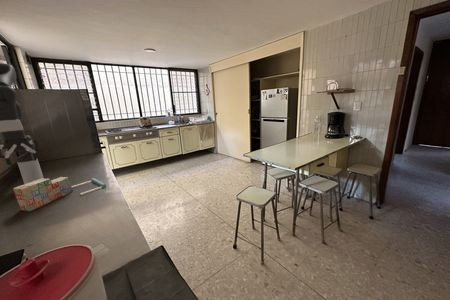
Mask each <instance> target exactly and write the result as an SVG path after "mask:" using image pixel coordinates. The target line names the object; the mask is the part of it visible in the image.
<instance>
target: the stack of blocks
mask: <svg viewBox="0 0 450 300" xmlns="http://www.w3.org/2000/svg"><path fill="white" fill-rule="evenodd" d="M71 186H72V183H71V181H70V177H68V176H66V177H65V176H64V177H63V176H59V177H56V178H53V179H51V178H44V177H43V178H41V179H38V180H36V181H33V182H30V183H27V184H22V185H18V186H16V187H13V188H12V190H13V191H14V195H15V198H16V199H15V200H17V203H18V205H19V208H20V211H26V212H31V211H34V210H36V209H38V208H40V207H42V206H45V205H46V204H48V203H49V204H50V203H51V202H53V201H55V200H57V199H59V198H61V197H64V196H66V195H68V194H71V193H72V192H74V191H73V188H72V187H71Z"/></svg>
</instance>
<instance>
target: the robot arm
mask: <svg viewBox="0 0 450 300" xmlns="http://www.w3.org/2000/svg"><path fill="white" fill-rule="evenodd" d="M16 81H17V72H16V69H15V67H14V66H13V65H11V64H8V63H3V62H0V136H1V140H2V142H3V144H0V159H3V160H4V162H5V165H6V166H8V167H12V166H13V163H12V160H11V158H10V156H11V155H12V153H15V152H22V151H26V152H25V153H23V154H21V155H20V156H17V157H16V162H17V163H16V164H17V165H18V169H19V171H20V175H21V177H22V180H23V183H24V184H27V183H30V182H33V181H36V180H38V179H41V178H44V175H43V172H42V171H43V170H42V169H41V166H40V163H39V159H38V155H37V152H41V149H40V146H39V143H38V141H37V139H33V138H32V137H31V135H28V134H26V133H25V129H24V127H23V123H22V122H21V120H22V118H23V111H22V107H21V104H20V103H19V102H18V101H17V97H18V94H17V91H16V90H15V89H14V88H13V87H12V85H13V84H15V82H16ZM3 148H4V149H6V151H5V152H4V154H2V150H3ZM24 184H23V185H24Z"/></svg>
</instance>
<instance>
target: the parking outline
mask: <svg viewBox="0 0 450 300" xmlns="http://www.w3.org/2000/svg"><path fill="white" fill-rule="evenodd" d="M89 183H94V184H96V185H98V187H95V188H93V189H88V190H87V191H83V192H81V193H79V195H80V196H83V195H86V194H89V193H93V192H95V191H98V190H100V189H103V188H106V187H107V184H106V183H105V182H103V181H101V180H98V179H97V178H95V177H93V178H92V177H91V180H87V181H84V182H82V183H81V182H80V183H79V184H75V185H71V187H72V189H74V188H77V187H80V186H85V185H86V184H89Z"/></svg>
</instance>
